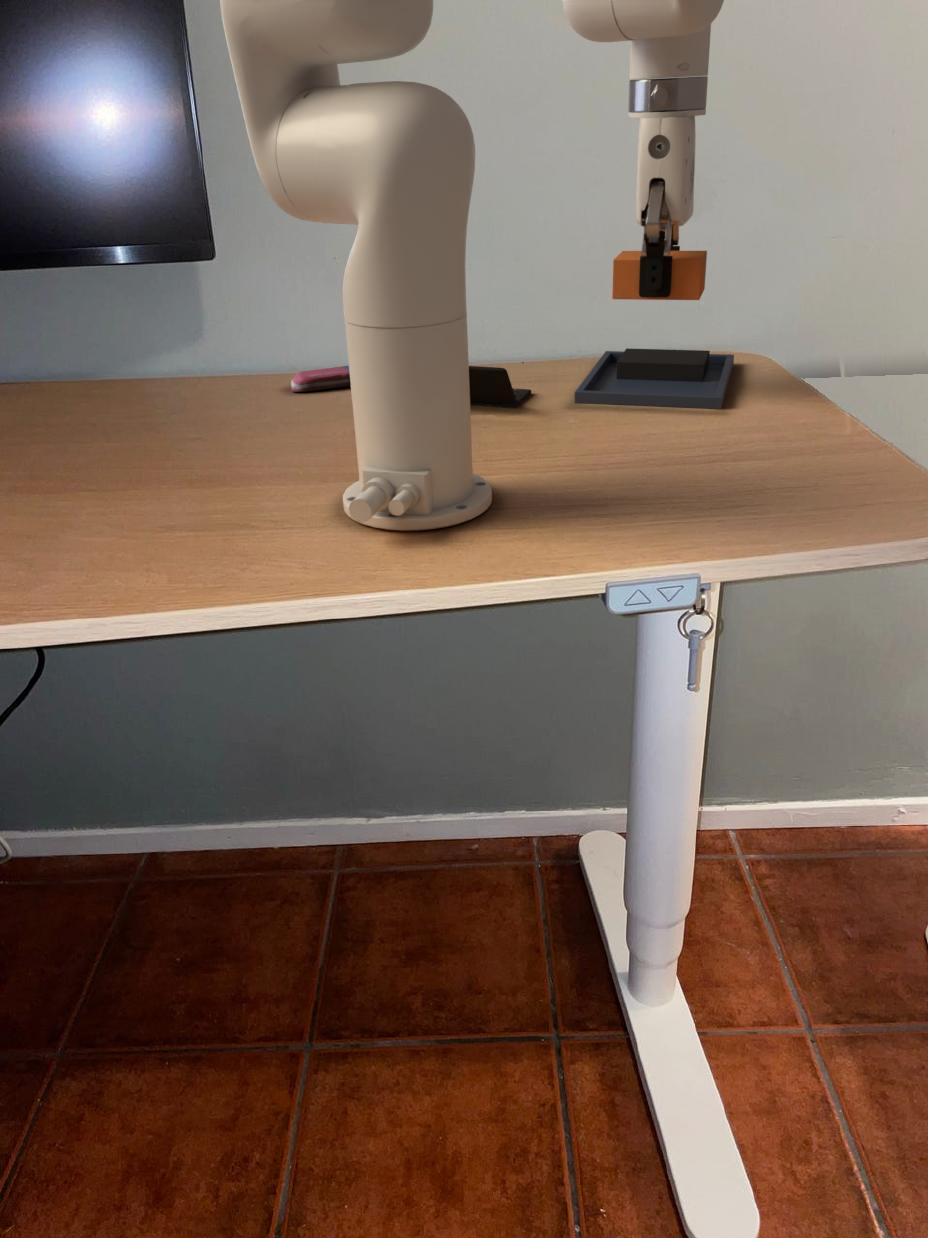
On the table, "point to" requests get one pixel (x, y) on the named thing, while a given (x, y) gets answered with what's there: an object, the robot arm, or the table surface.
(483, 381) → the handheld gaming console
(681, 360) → the rubber pad
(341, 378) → the eraser
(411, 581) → the table surface
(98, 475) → the table surface
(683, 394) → the pad tray
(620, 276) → the orange block
